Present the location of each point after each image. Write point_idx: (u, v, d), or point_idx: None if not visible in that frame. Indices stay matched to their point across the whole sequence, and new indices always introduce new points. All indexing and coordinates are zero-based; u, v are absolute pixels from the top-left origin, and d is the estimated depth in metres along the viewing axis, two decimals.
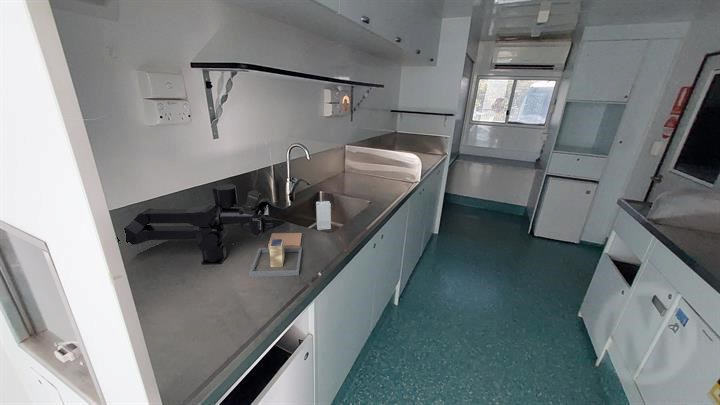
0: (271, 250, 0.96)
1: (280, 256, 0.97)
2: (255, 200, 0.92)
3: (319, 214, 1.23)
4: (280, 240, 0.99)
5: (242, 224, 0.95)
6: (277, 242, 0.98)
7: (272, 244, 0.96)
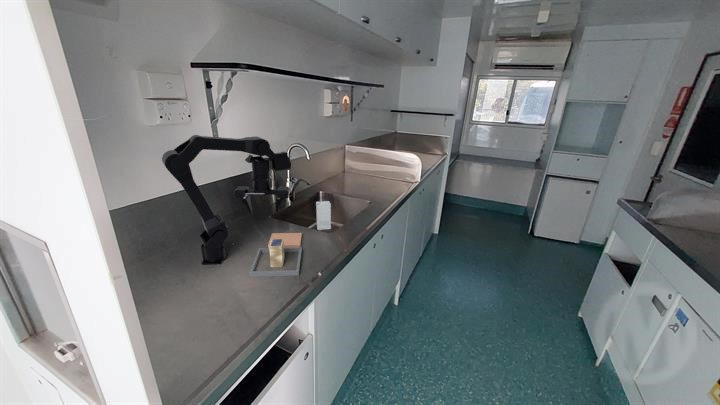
0: (271, 250, 0.96)
1: (280, 256, 0.97)
2: None
3: (319, 214, 1.23)
4: (280, 240, 0.99)
5: (267, 179, 1.01)
6: (277, 242, 0.98)
7: (272, 244, 0.97)
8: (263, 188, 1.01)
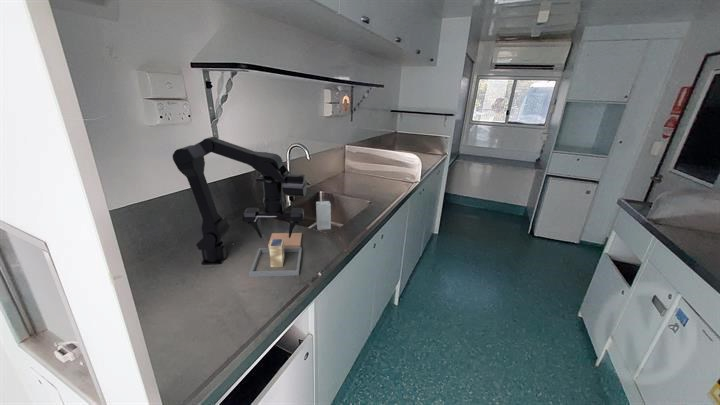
0: (271, 250, 0.96)
1: (280, 256, 0.97)
2: None
3: (319, 214, 1.23)
4: (280, 240, 0.99)
5: (280, 201, 0.91)
6: (277, 242, 0.98)
7: (272, 244, 0.96)
8: (275, 211, 0.91)
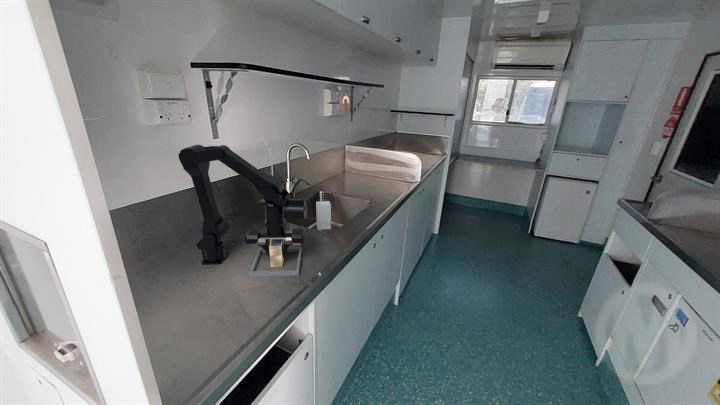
0: (271, 250, 0.96)
1: (280, 256, 0.97)
2: None
3: (319, 214, 1.23)
4: (280, 240, 0.99)
5: (281, 223, 0.94)
6: (277, 242, 0.98)
7: (272, 244, 0.96)
8: (276, 233, 0.94)
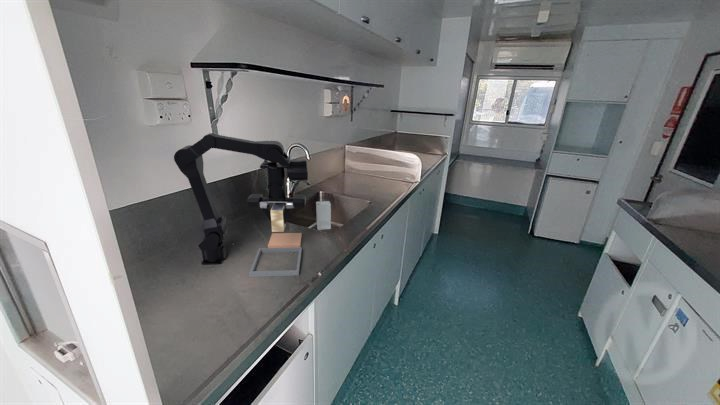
0: (272, 214, 0.97)
1: (281, 221, 0.98)
2: None
3: (319, 214, 1.23)
4: (281, 205, 1.00)
5: (283, 187, 0.94)
6: (278, 206, 0.99)
7: (273, 208, 0.97)
8: (278, 197, 0.94)
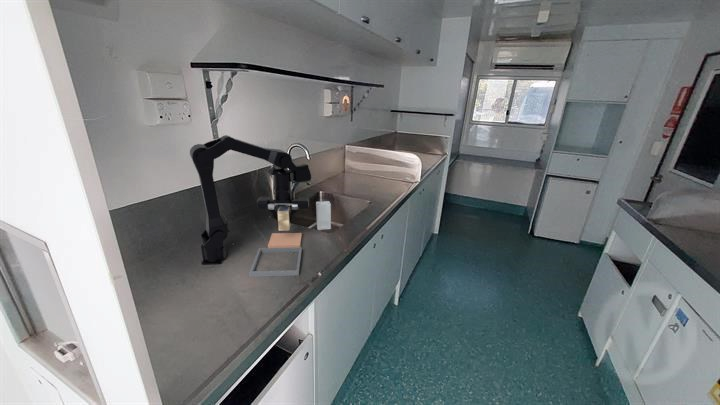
0: (279, 215, 1.08)
1: (287, 220, 1.09)
2: None
3: (319, 214, 1.23)
4: (287, 207, 1.11)
5: (289, 190, 1.05)
6: (284, 208, 1.10)
7: (280, 209, 1.08)
8: (284, 199, 1.06)
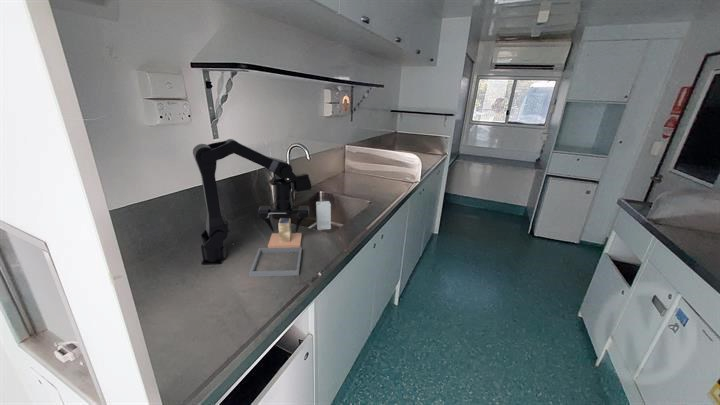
0: (280, 227, 1.10)
1: (288, 232, 1.11)
2: None
3: (319, 214, 1.23)
4: (287, 219, 1.13)
5: (289, 200, 1.07)
6: (285, 220, 1.12)
7: (281, 221, 1.10)
8: (285, 208, 1.07)
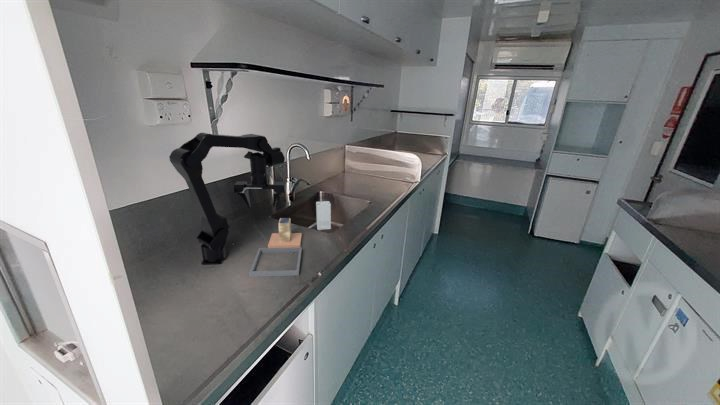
0: (280, 227, 1.10)
1: (288, 232, 1.11)
2: (269, 180, 1.16)
3: (319, 214, 1.23)
4: (287, 219, 1.13)
5: (264, 174, 1.06)
6: (285, 220, 1.12)
7: (281, 221, 1.10)
8: (260, 183, 1.06)
